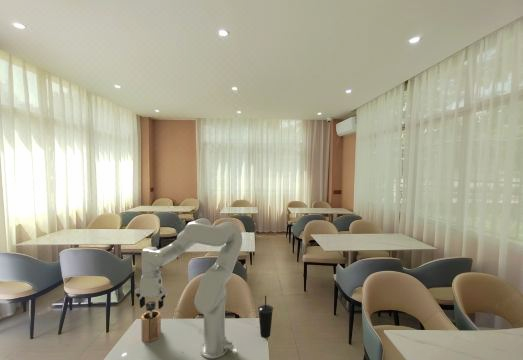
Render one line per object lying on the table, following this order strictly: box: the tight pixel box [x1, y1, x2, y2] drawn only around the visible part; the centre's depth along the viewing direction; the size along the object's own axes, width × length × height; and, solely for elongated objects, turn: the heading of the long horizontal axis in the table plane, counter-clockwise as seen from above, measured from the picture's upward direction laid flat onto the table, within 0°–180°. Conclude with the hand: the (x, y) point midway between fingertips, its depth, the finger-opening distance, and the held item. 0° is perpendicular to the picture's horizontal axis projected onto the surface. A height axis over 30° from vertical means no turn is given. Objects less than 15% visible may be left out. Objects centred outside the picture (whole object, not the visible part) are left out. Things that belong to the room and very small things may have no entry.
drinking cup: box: [257, 295, 274, 339], centre depth 131 cm, size 8×8×20 cm
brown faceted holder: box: [140, 309, 162, 343], centre depth 130 cm, size 9×10×11 cm
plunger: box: [145, 300, 157, 319], centre depth 129 cm, size 5×5×15 cm
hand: (151, 307), depth 129 cm, fingers open, 9 cm apart
